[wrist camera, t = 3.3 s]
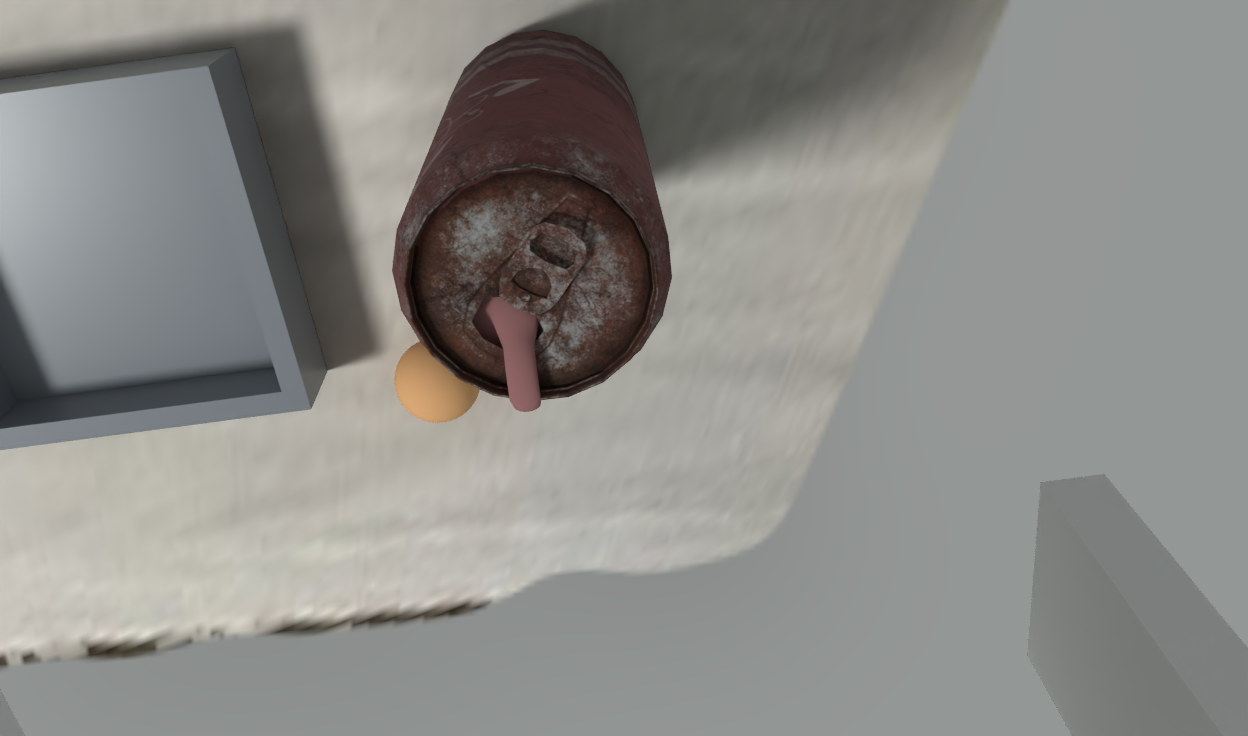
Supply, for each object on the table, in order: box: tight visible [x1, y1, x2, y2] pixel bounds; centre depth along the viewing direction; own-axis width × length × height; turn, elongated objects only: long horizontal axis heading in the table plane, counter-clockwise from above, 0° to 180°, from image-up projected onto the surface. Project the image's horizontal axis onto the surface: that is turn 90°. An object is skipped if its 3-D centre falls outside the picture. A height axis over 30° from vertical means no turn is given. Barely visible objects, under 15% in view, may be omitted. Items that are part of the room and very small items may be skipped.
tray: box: [0, 48, 327, 450], centre depth 35 cm, size 12×12×3 cm
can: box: [392, 30, 672, 412], centre depth 28 cm, size 6×6×14 cm
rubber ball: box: [395, 342, 480, 423], centre depth 37 cm, size 3×3×3 cm
